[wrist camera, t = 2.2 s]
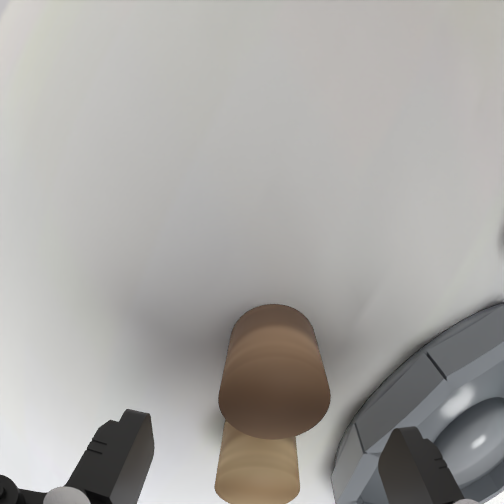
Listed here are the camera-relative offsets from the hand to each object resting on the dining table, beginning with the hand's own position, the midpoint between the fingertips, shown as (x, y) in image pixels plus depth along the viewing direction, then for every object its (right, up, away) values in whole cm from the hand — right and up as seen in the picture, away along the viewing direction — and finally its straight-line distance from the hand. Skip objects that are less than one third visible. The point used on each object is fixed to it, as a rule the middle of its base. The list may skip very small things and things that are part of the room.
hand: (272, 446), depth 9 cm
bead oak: (0, -4, +7) cm, 8 cm away
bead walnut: (0, +2, +6) cm, 6 cm away
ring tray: (+15, -6, +7) cm, 18 cm away
